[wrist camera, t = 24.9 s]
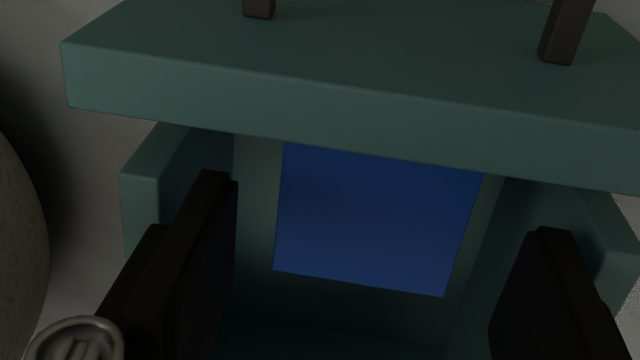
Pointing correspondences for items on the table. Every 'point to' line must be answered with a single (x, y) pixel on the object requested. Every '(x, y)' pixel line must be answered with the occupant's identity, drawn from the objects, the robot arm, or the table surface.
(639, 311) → the table surface
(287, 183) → the blue cube box
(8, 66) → the table surface
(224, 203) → the robot arm
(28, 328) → the planter
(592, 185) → the teal drawer
